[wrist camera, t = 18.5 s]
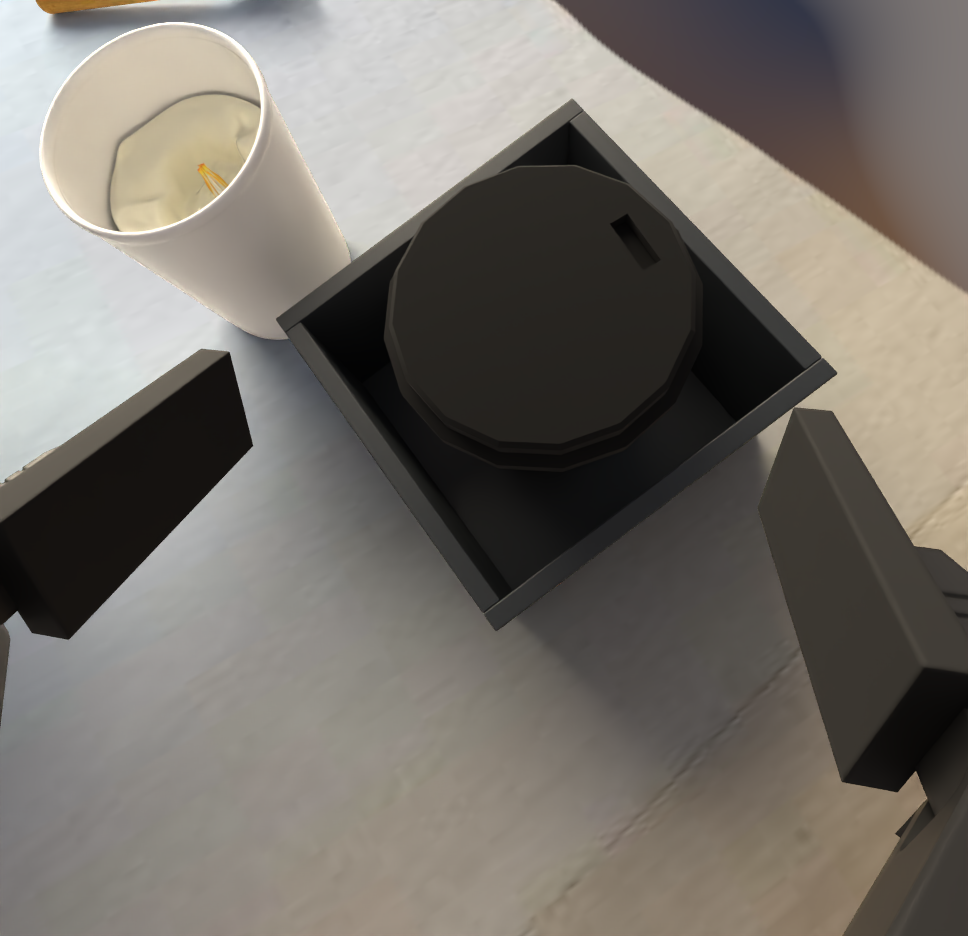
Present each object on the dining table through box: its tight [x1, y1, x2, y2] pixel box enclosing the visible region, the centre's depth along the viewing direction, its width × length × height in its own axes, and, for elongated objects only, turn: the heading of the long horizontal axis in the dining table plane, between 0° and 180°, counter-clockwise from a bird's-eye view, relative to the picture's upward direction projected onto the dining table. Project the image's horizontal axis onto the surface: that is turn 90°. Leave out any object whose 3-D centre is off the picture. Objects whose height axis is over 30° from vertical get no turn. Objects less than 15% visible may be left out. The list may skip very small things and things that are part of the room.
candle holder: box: [40, 22, 351, 340], centre depth 29 cm, size 10×10×12 cm
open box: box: [276, 99, 837, 631], centre depth 27 cm, size 16×16×9 cm
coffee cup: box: [384, 165, 703, 472], centre depth 25 cm, size 11×11×12 cm
